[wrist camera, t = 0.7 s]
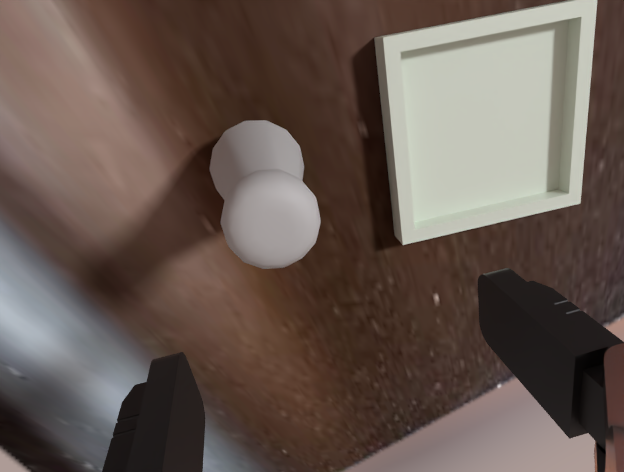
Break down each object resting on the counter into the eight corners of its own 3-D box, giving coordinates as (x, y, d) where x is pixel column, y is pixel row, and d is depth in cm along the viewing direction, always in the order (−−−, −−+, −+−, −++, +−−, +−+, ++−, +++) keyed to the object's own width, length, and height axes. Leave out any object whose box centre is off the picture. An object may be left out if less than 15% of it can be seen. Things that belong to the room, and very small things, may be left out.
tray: (374, 37, 29) (383, 37, 27) (577, -2, 30) (597, -4, 28) (394, 235, 35) (402, 245, 33) (564, 196, 36) (580, 203, 34)
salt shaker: (287, 206, 32) (323, 300, 20) (205, 192, 31) (192, 284, 19) (306, 124, 30) (357, 176, 18) (219, 104, 29) (214, 148, 17)
